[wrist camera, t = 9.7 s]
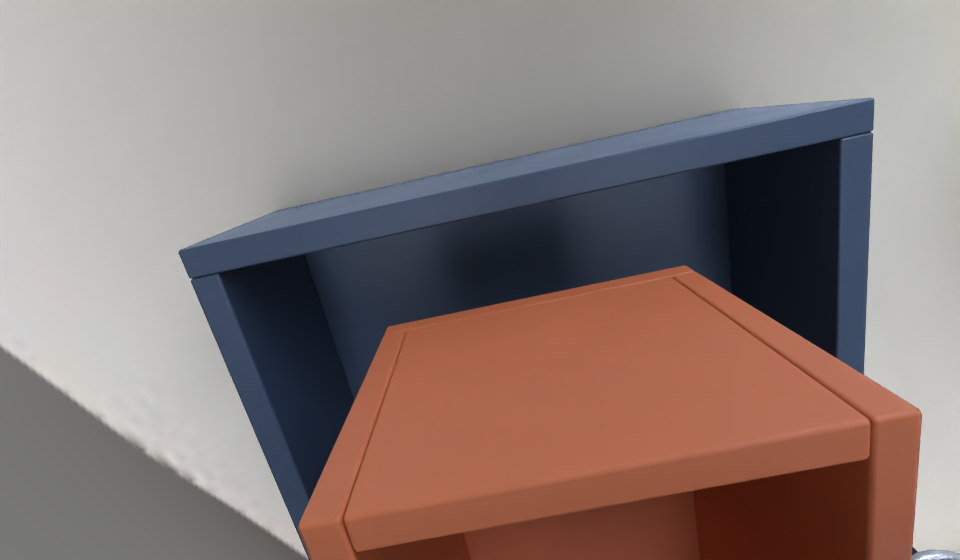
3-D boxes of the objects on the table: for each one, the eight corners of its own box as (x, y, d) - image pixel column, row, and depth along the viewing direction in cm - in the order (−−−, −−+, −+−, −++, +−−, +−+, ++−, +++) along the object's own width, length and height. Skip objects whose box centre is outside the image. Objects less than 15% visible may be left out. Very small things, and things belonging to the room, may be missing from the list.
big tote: (276, 210, 16) (176, 251, 11) (733, 108, 15) (875, 96, 10) (384, 518, 20) (350, 660, 15) (750, 451, 19) (857, 575, 14)
